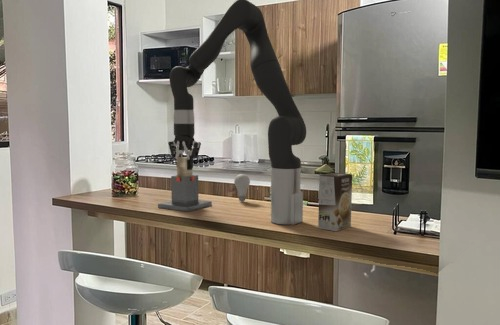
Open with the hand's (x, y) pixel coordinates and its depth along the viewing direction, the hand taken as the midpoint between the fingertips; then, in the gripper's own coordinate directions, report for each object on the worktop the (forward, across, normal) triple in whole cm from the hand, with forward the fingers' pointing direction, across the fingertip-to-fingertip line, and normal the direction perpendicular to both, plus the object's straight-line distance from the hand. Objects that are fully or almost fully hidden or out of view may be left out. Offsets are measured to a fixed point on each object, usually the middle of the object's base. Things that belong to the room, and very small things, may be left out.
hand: (184, 169), depth 166 cm
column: (+11, 0, 0) cm, 11 cm away
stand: (+14, 0, 0) cm, 14 cm away
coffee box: (+14, -59, +2) cm, 61 cm away
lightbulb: (+14, -13, -19) cm, 27 cm away
